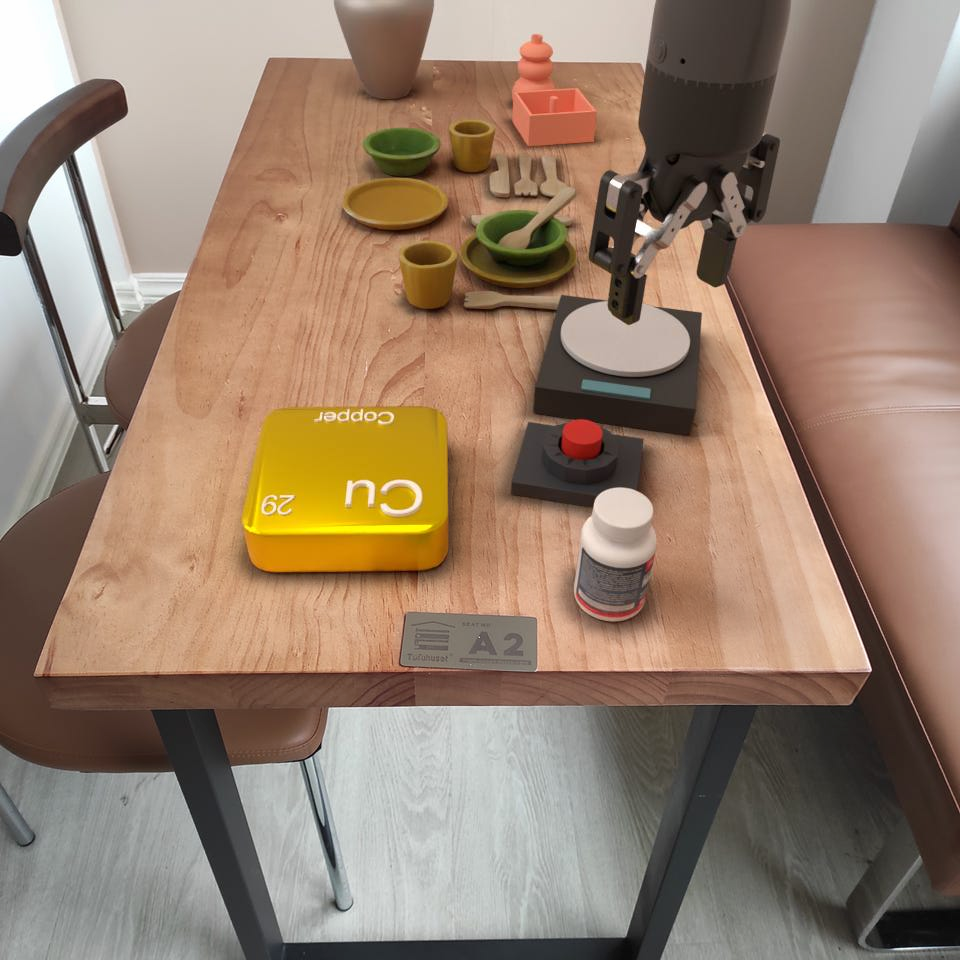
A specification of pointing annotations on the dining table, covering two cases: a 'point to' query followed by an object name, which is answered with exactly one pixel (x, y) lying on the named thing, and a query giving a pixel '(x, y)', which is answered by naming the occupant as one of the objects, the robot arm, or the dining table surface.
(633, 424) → the scale
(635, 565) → the pill bottle
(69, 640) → the dining table surface
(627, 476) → the block
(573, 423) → the button
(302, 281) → the dining table surface
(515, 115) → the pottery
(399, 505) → the element tile
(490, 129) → the tableware set
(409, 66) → the vase
